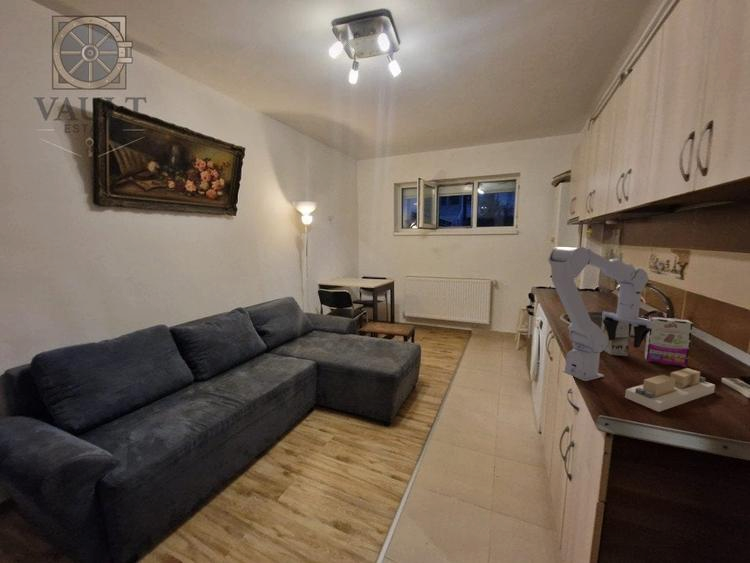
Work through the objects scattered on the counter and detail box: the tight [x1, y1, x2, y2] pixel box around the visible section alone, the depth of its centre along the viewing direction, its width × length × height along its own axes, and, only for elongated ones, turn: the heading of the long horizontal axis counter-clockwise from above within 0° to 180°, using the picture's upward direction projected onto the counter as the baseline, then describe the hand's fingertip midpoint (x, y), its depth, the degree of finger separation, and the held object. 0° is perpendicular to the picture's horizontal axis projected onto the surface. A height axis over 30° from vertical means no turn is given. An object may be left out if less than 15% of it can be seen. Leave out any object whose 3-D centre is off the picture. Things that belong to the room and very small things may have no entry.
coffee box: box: [600, 309, 633, 357], centre depth 125 cm, size 9×6×16 cm
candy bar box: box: [644, 316, 694, 368], centre depth 114 cm, size 11×5×16 cm, turn 58°
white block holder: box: [624, 374, 716, 413], centre depth 91 cm, size 28×8×6 cm, turn 112°
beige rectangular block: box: [669, 367, 701, 389], centre depth 94 cm, size 9×3×6 cm, turn 112°
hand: (623, 343), depth 106 cm, fingers open, 7 cm apart
